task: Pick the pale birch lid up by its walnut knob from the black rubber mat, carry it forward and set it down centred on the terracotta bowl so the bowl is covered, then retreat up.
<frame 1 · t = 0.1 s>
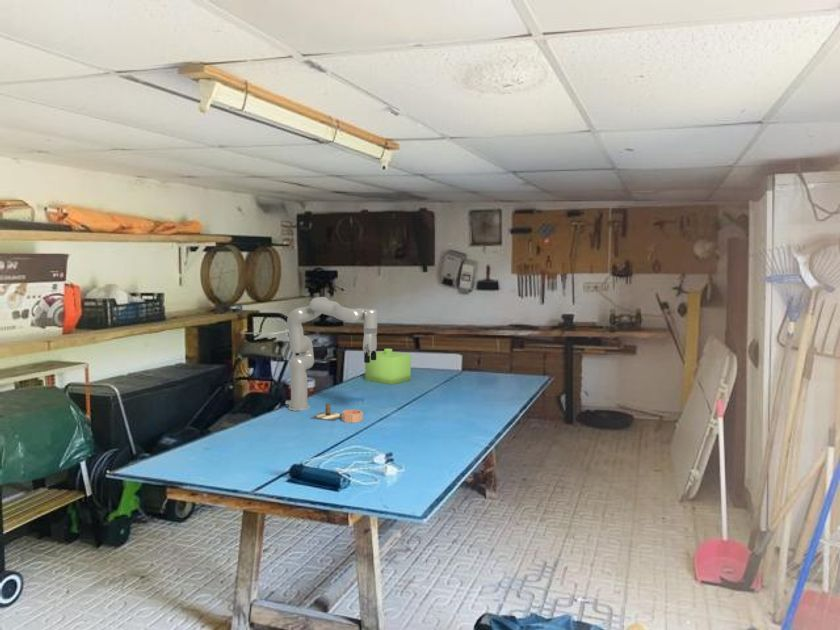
hand: (370, 361, 370), 31 cm above the table, fingers open, 9 cm apart
bowl: (352, 421, 360), on the table
mat: (328, 417, 366), on the table
canister: (387, 380, 476), on the table
lid: (328, 416, 366), point 1 cm above the table, touching mat
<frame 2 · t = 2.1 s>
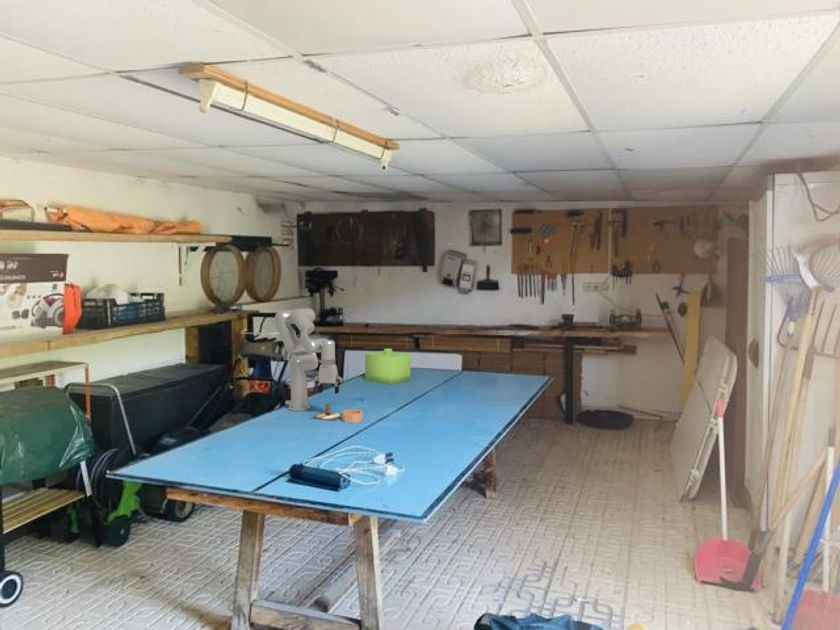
hand: (328, 392, 365), 14 cm above the table, fingers open, 9 cm apart
nothing on the table moved.
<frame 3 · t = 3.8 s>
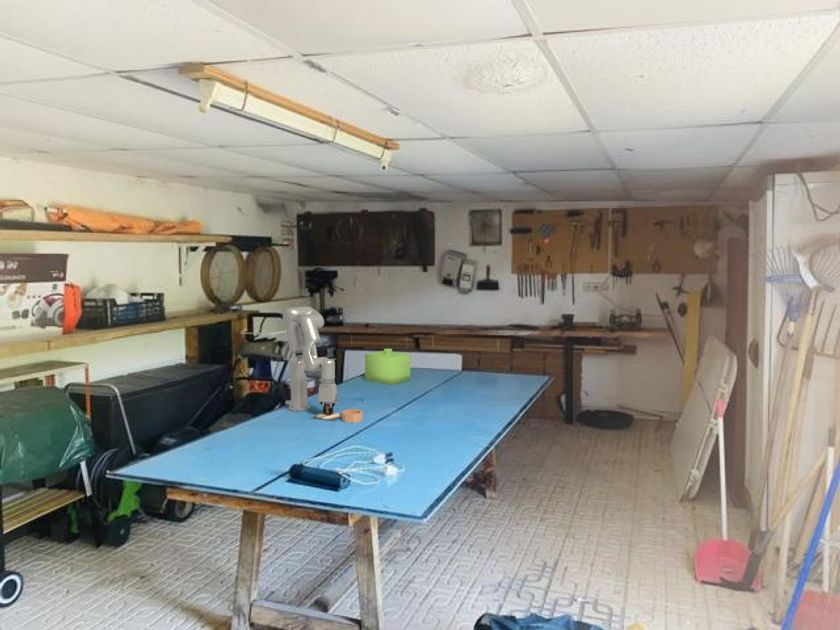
hand: (328, 413, 366), 2 cm above the table, fingers closed on lid, 2 cm apart
lid: (328, 416, 366), point 1 cm above the table, touching gripper, mat
everything else where it was.
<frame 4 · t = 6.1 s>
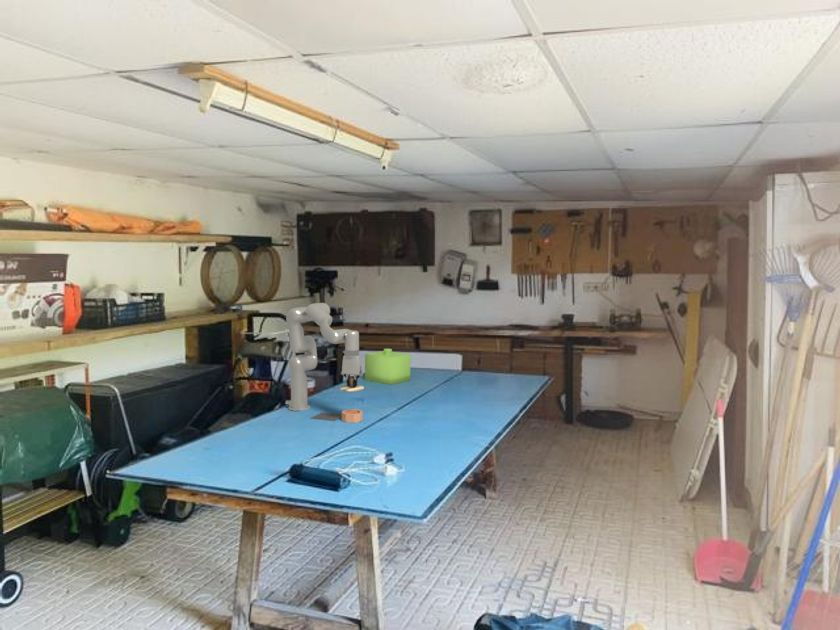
hand: (352, 386, 358), 19 cm above the table, fingers closed on lid, 2 cm apart
lid: (352, 389, 358), point 18 cm above the table, touching gripper
everything else where it was.
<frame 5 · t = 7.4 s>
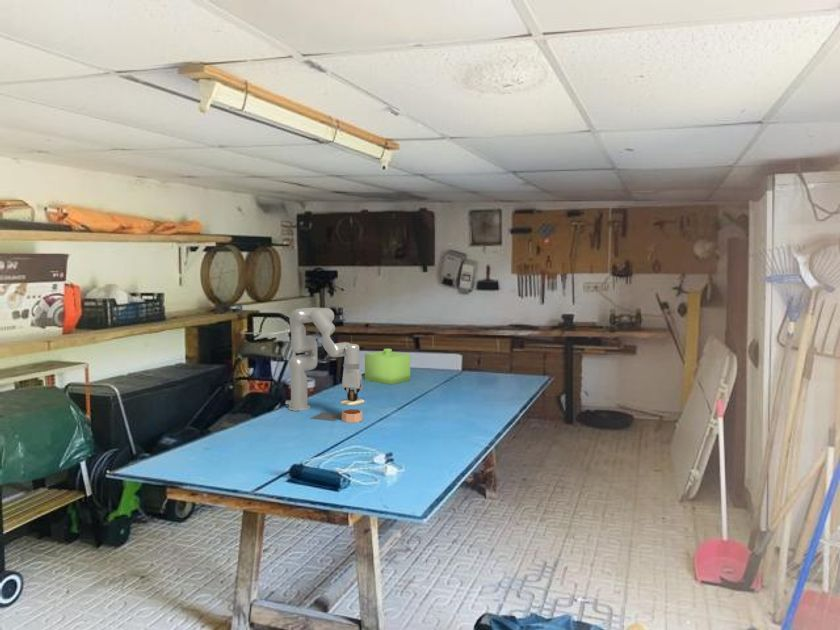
hand: (352, 399, 358), 12 cm above the table, fingers closed on lid, 2 cm apart
lid: (352, 402, 359), point 10 cm above the table, touching gripper
everything else where it was.
when the fingers open (8 cm above the table, at t = 8.3 s): lid drops 2 cm, resting on bowl.
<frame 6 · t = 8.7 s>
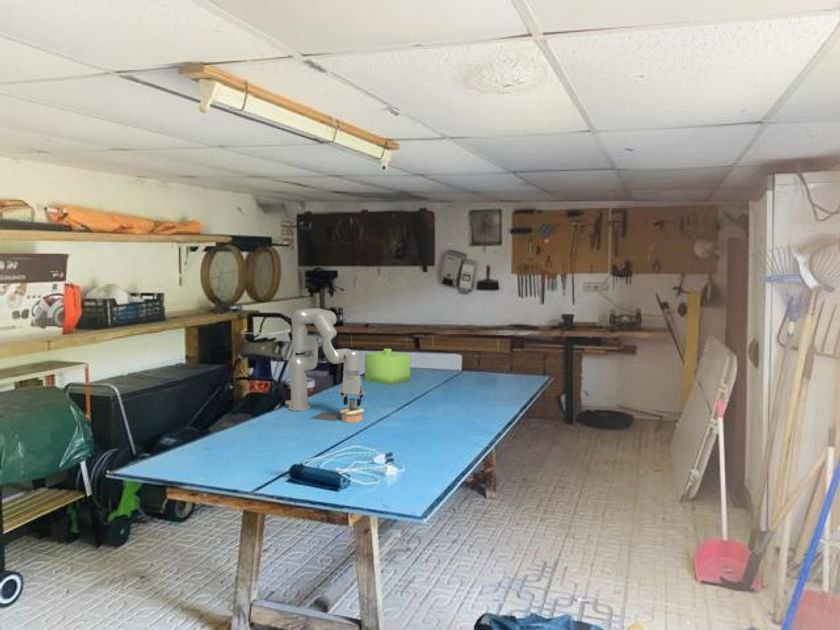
hand: (352, 405, 359), 9 cm above the table, fingers open, 7 cm apart
bowl: (352, 421, 360), on the table, touching lid
lid: (352, 411, 360), point 5 cm above the table, touching bowl
everything else where it was.
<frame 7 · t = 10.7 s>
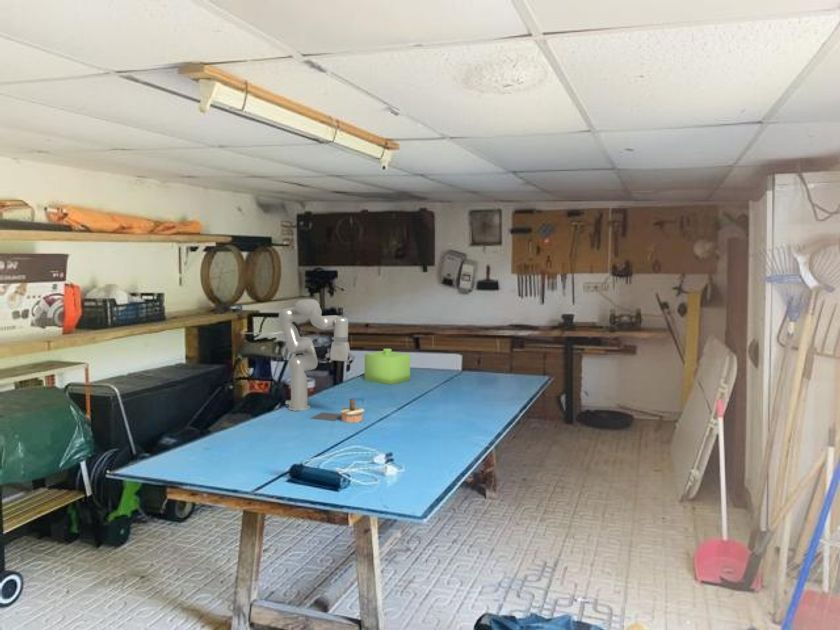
hand: (339, 370, 361), 27 cm above the table, fingers open, 9 cm apart
nothing on the table moved.
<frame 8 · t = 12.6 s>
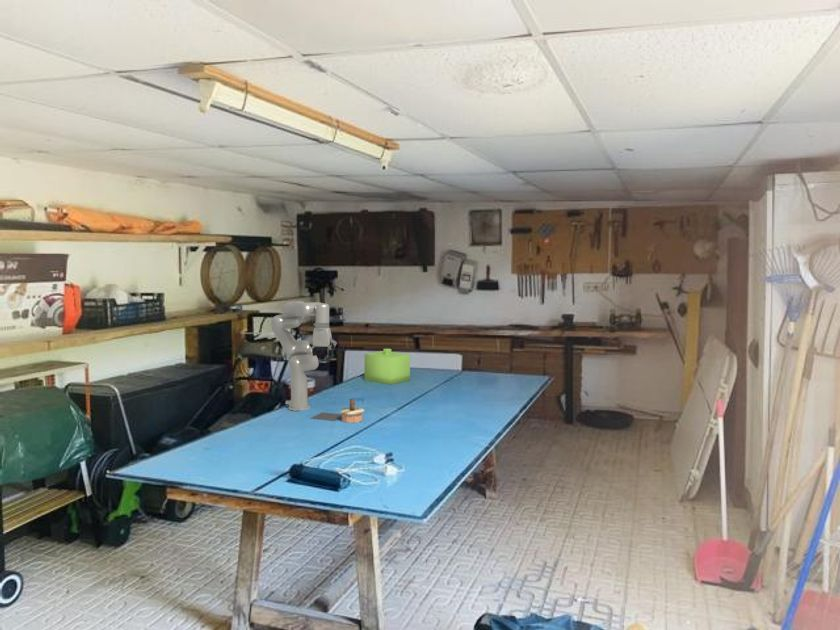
hand: (322, 356, 365), 34 cm above the table, fingers open, 9 cm apart
nothing on the table moved.
at the end: lid 0.1 cm off-centre on the bowl, point 5.2 cm above the bowl's base; lid tilted 0°; the gripper is holding nothing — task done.
